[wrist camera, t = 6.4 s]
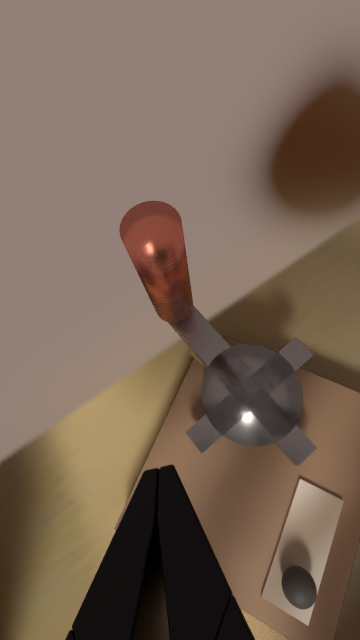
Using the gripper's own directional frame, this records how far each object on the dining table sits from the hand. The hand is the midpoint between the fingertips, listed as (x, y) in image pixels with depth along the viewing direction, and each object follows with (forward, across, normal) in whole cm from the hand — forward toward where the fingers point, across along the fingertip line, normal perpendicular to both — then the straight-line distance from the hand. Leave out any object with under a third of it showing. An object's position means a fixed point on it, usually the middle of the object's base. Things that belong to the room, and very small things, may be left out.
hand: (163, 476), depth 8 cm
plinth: (+8, -4, +10) cm, 13 cm away
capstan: (+10, -3, +4) cm, 11 cm away
